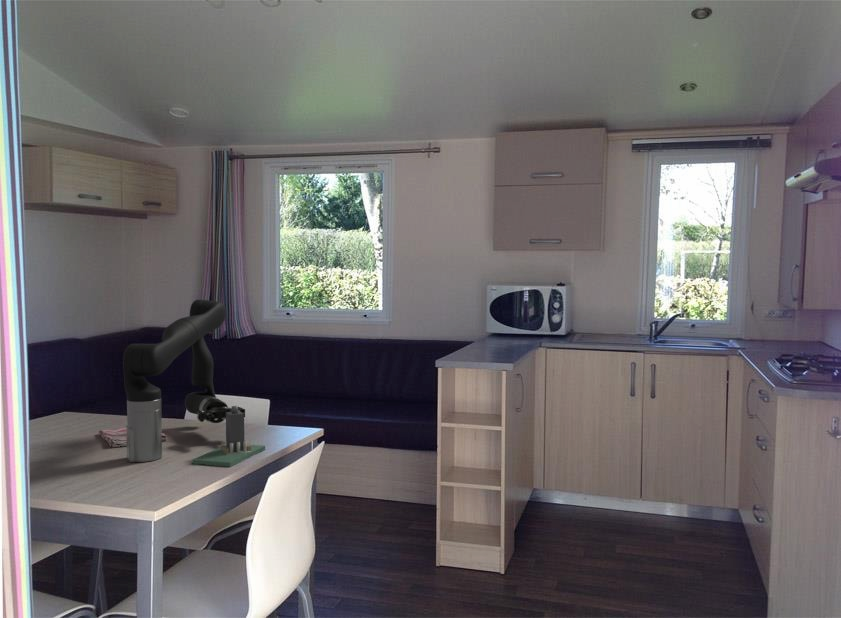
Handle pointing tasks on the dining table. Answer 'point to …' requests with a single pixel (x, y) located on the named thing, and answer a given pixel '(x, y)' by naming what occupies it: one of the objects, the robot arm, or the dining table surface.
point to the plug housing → (234, 428)
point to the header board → (228, 455)
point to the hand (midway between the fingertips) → (227, 418)
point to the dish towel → (118, 437)
